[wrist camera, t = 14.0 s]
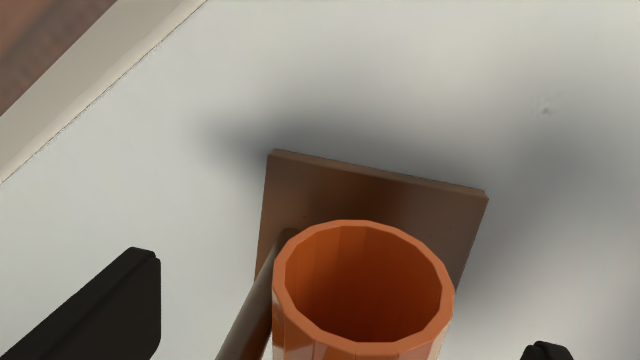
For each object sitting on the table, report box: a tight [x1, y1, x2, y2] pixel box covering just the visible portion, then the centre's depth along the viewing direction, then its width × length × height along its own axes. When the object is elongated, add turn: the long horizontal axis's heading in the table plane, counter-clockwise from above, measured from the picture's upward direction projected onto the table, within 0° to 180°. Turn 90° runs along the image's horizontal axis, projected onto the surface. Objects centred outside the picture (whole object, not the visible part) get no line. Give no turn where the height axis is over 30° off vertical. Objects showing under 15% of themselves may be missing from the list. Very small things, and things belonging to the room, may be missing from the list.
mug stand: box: [215, 149, 489, 360], centre depth 17 cm, size 12×10×15 cm
